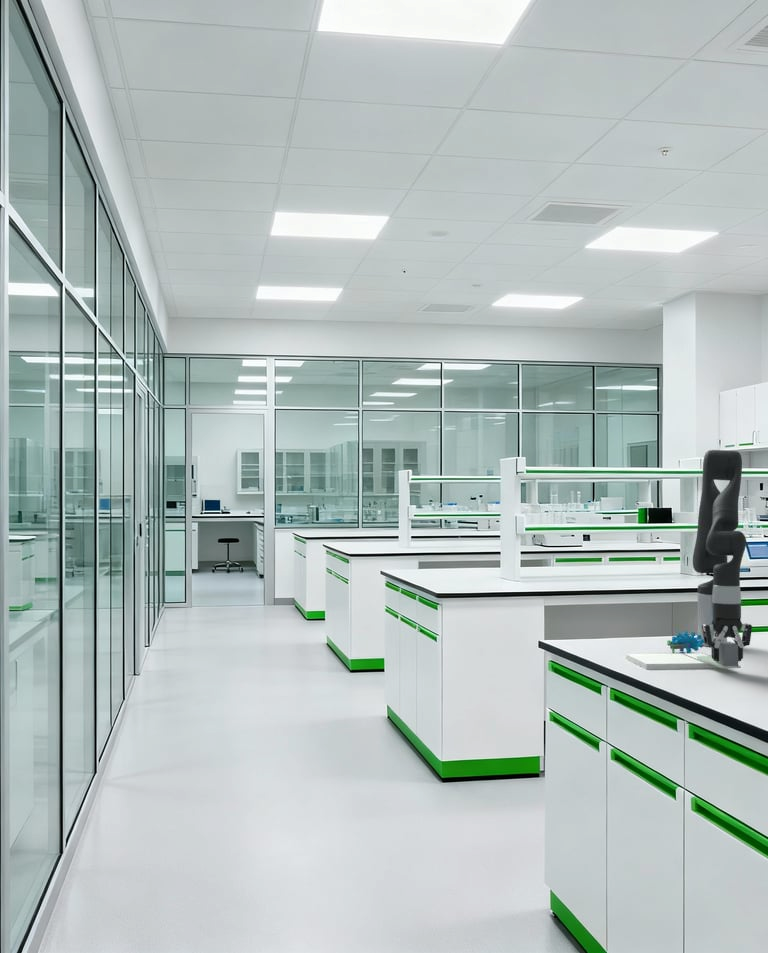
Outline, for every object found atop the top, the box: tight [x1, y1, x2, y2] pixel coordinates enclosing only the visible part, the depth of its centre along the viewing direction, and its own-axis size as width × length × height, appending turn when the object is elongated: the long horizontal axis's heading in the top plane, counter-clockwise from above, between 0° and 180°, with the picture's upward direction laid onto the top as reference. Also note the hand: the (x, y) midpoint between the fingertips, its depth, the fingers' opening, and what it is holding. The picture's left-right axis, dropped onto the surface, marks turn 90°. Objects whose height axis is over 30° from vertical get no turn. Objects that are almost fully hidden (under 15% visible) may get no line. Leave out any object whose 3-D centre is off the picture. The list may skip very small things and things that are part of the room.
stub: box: [697, 641, 741, 669], centre depth 249 cm, size 16×5×7 cm, turn 5°
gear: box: [666, 631, 704, 654], centre depth 273 cm, size 11×6×10 cm
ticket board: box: [625, 652, 721, 670], centre depth 257 cm, size 16×24×2 cm, turn 95°
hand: (727, 660), depth 243 cm, fingers open, 6 cm apart
